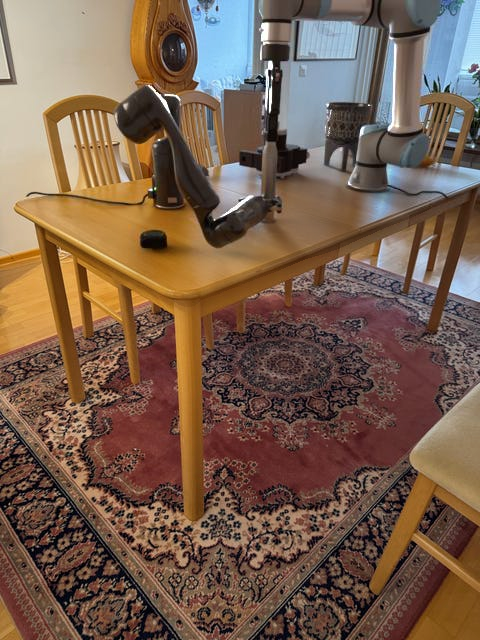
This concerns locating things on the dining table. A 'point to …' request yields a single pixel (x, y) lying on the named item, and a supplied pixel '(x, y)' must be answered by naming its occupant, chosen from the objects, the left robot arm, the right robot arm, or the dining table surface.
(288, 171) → the mechanical component
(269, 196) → the bottle
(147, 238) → the tape measure
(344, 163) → the planter
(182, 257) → the dining table surface
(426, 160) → the toy
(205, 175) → the rock
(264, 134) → the cap
